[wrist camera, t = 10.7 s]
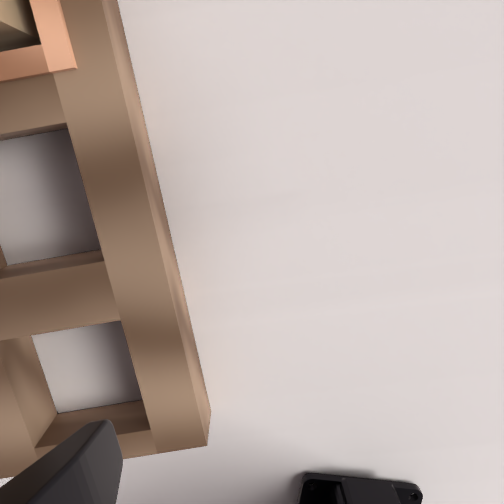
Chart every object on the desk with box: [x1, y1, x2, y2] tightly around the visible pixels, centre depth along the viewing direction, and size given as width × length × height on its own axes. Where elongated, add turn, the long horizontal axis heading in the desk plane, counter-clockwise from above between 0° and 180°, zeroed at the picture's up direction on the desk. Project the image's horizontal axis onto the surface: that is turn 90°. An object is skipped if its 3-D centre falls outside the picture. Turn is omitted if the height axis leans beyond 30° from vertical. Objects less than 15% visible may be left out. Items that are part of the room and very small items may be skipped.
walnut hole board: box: [0, 0, 211, 479], centre depth 18 cm, size 24×10×3 cm, turn 10°
